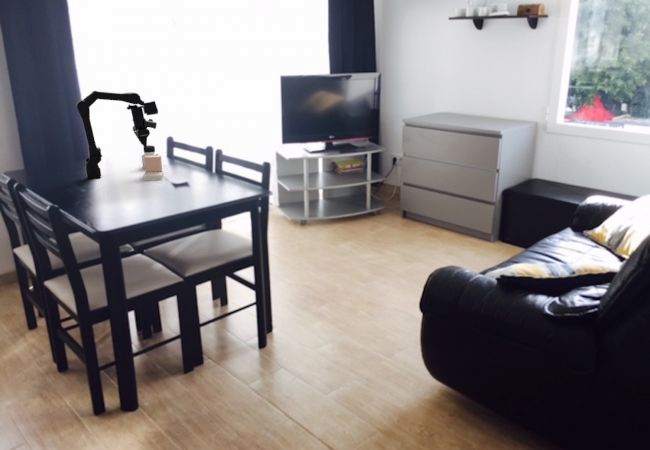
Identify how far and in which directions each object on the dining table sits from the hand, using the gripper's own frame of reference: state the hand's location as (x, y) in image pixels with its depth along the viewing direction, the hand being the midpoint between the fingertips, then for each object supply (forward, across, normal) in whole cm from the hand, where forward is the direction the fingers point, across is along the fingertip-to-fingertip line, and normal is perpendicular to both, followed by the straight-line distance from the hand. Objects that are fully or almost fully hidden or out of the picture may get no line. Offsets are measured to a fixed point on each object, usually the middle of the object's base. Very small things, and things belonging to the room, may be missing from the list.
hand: (144, 146), depth 300 cm
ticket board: (+14, -15, 0) cm, 21 cm away
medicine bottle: (+15, +14, -3) cm, 20 cm away
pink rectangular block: (+14, -9, -1) cm, 17 cm away
